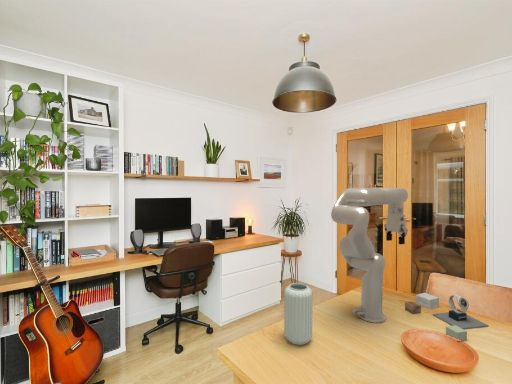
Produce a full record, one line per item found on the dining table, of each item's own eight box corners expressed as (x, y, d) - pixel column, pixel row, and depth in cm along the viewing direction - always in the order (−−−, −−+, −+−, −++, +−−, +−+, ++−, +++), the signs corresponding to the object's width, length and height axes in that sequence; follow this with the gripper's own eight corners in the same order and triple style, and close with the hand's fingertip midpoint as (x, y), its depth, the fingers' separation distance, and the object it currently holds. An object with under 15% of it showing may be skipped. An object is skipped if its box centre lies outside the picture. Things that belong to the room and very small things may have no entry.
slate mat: (459, 329, 119) (459, 328, 119) (432, 315, 133) (432, 313, 133) (488, 326, 122) (488, 325, 122) (459, 312, 136) (459, 311, 136)
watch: (461, 323, 124) (461, 299, 124) (445, 315, 132) (445, 293, 131) (470, 322, 125) (471, 298, 125) (454, 314, 133) (454, 292, 133)
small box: (439, 307, 142) (439, 297, 142) (429, 309, 139) (430, 300, 139) (424, 301, 150) (424, 292, 149) (415, 303, 146) (415, 294, 146)
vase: (295, 329, 120) (295, 279, 119) (317, 339, 111) (318, 286, 111) (278, 339, 112) (278, 286, 111) (301, 351, 103) (301, 294, 103)
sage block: (456, 342, 110) (457, 332, 110) (445, 335, 115) (446, 326, 115) (466, 340, 111) (466, 331, 111) (455, 334, 116) (455, 325, 116)
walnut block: (412, 314, 134) (412, 306, 134) (404, 309, 139) (405, 302, 139) (420, 313, 135) (421, 305, 135) (413, 309, 140) (413, 301, 140)
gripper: (413, 212, 138) (413, 245, 139) (390, 209, 155) (390, 239, 156) (401, 212, 137) (400, 246, 137) (379, 209, 154) (378, 239, 154)
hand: (395, 242), depth 146 cm, fingers open, 9 cm apart
